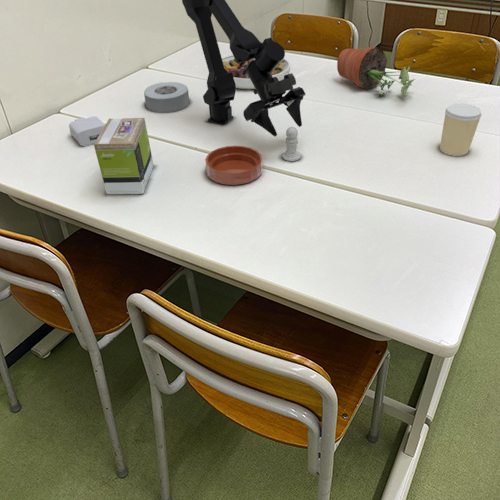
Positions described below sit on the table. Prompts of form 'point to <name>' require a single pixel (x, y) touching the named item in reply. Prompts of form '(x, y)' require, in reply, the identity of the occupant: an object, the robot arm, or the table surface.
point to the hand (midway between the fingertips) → (288, 130)
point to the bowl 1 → (245, 81)
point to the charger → (86, 130)
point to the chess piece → (291, 145)
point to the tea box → (124, 155)
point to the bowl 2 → (234, 165)
